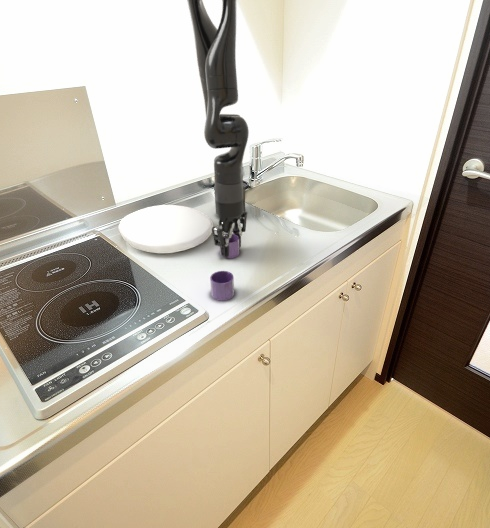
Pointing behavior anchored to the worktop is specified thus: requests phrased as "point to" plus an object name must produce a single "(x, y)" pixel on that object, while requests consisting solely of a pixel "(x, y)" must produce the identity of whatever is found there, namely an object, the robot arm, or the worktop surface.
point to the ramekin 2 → (222, 285)
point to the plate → (165, 228)
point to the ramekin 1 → (233, 246)
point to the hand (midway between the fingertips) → (231, 251)
